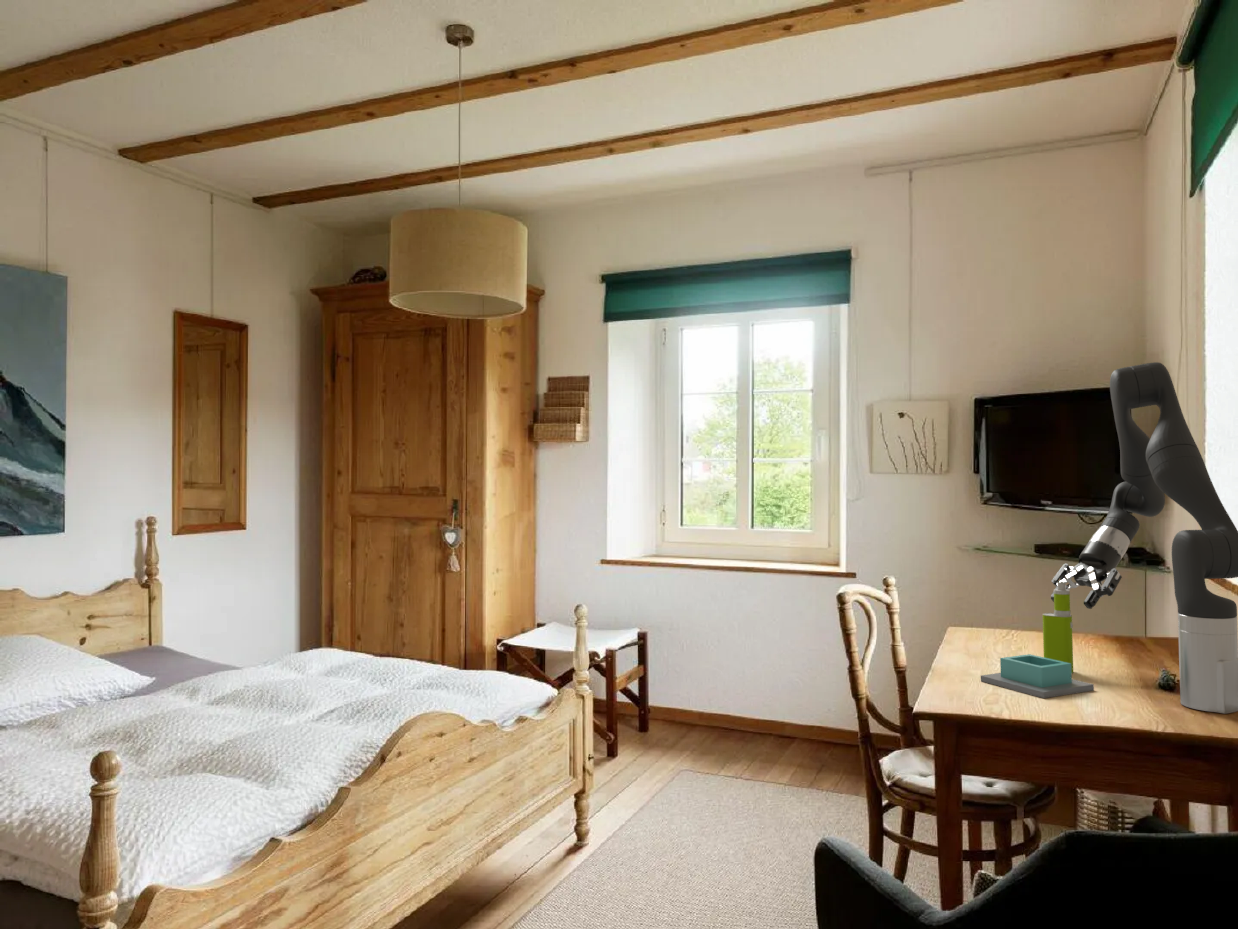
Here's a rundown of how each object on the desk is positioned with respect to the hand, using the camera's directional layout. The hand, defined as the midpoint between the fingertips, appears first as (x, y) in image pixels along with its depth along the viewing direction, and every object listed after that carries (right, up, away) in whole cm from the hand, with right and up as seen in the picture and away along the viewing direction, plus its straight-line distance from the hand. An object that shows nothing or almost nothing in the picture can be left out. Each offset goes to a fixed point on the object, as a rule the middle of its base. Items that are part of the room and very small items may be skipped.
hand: (1070, 603), depth 192 cm
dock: (-15, -15, -14) cm, 25 cm away
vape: (-3, -15, -2) cm, 16 cm away
